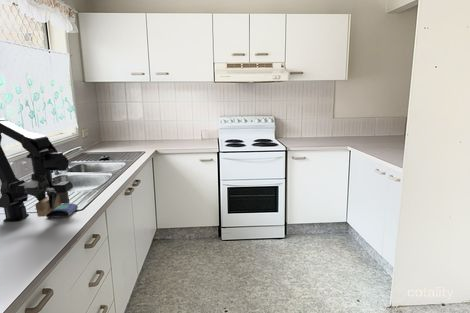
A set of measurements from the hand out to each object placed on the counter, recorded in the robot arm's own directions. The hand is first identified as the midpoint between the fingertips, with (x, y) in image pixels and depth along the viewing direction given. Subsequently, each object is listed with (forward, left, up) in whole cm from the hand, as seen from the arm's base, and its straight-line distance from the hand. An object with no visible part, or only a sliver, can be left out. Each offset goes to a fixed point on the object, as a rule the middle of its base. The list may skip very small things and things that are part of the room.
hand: (48, 208), depth 123 cm
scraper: (0, +1, -1) cm, 2 cm away
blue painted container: (0, +4, -5) cm, 6 cm away
